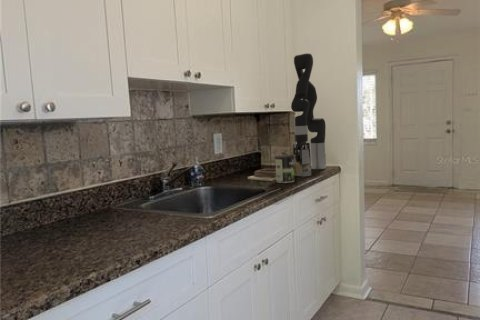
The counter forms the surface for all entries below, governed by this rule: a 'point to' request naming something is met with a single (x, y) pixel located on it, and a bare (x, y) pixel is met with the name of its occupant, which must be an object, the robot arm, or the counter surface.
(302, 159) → the coffee box
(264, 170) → the cradle board
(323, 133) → the robot arm
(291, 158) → the coffee can
